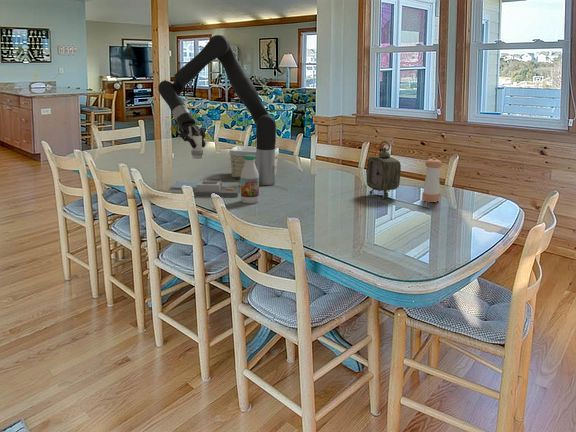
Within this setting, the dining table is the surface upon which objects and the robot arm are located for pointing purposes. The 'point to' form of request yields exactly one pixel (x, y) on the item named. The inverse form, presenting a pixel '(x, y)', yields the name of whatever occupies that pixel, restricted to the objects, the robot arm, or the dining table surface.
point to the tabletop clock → (383, 172)
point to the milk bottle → (249, 181)
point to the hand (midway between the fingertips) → (199, 146)
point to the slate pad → (180, 183)
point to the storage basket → (238, 158)
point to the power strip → (215, 189)
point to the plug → (198, 150)
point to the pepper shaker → (432, 181)
